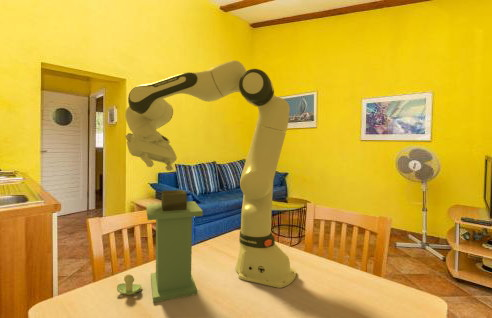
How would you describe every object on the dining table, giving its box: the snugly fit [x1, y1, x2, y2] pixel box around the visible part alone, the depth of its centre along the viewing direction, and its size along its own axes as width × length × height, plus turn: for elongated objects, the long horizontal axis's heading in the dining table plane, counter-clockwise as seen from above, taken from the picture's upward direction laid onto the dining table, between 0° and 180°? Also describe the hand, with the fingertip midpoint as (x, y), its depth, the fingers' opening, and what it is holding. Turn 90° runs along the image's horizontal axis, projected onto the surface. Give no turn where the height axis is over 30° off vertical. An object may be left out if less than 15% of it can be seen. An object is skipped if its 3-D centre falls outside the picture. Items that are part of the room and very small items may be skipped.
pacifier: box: [116, 273, 143, 296], centre depth 86 cm, size 7×6×6 cm
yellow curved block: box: [161, 189, 188, 211], centre depth 92 cm, size 18×7×5 cm, turn 22°
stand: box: [145, 200, 204, 303], centre depth 89 cm, size 15×16×26 cm
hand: (160, 167), depth 97 cm, fingers open, 8 cm apart
